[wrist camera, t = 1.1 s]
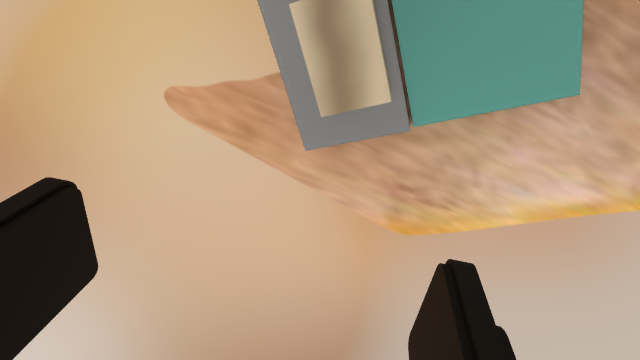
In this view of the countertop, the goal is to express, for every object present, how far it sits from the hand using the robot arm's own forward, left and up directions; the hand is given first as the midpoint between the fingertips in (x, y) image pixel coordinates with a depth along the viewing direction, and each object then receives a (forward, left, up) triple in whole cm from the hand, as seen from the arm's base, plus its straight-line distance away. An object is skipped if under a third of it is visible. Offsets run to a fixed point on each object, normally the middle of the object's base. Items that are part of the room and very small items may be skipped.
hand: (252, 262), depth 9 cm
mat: (-11, -3, -26) cm, 28 cm away
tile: (0, -2, -24) cm, 24 cm away
